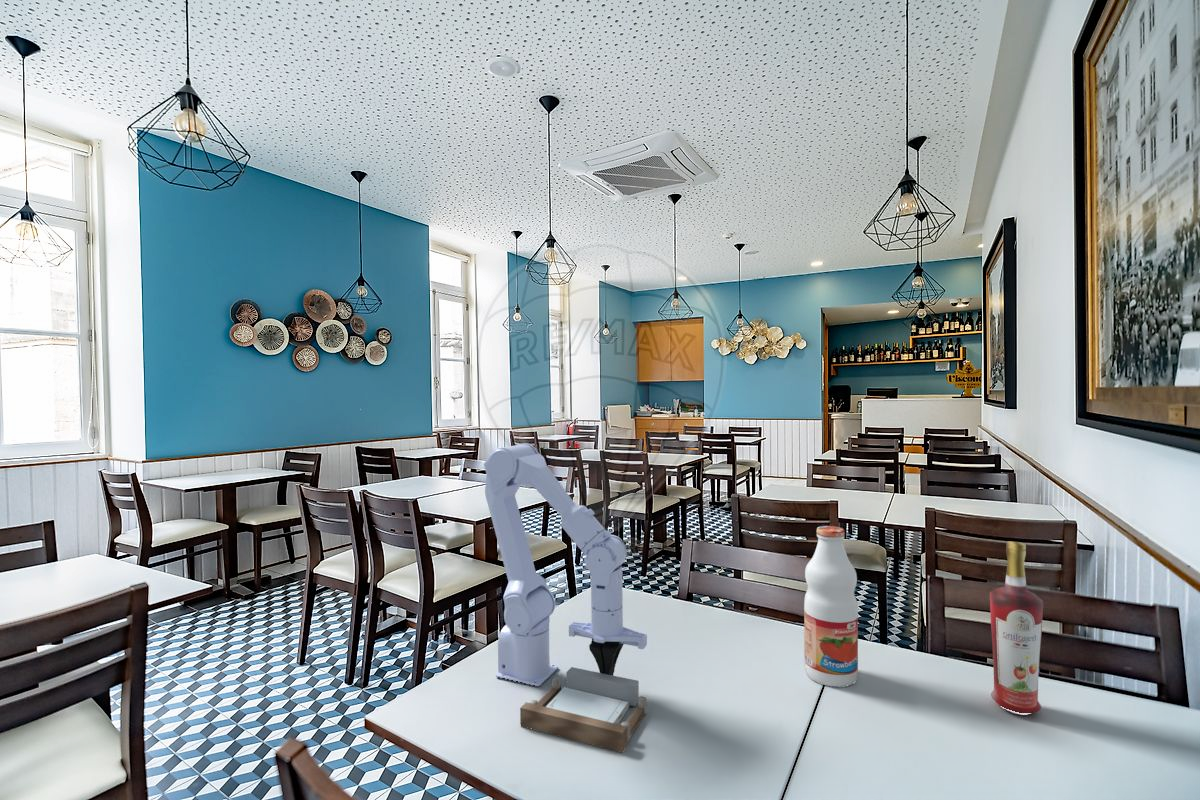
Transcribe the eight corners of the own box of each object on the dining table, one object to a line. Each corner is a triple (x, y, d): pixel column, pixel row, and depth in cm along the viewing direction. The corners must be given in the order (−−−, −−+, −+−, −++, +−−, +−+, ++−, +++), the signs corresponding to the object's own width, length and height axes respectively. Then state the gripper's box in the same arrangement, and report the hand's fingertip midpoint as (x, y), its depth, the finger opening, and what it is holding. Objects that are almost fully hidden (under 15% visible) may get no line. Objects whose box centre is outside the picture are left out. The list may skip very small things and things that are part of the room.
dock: (520, 726, 93) (520, 707, 93) (554, 690, 104) (554, 674, 104) (622, 752, 86) (622, 732, 86) (647, 711, 97) (647, 694, 96)
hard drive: (542, 709, 95) (611, 726, 90) (564, 685, 103) (629, 699, 98) (542, 719, 95) (611, 736, 91) (564, 695, 103) (629, 709, 98)
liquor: (1036, 702, 98) (1036, 540, 98) (1048, 724, 92) (1049, 551, 91) (985, 693, 101) (985, 536, 101) (993, 714, 95) (994, 546, 94)
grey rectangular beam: (566, 691, 103) (566, 672, 103) (571, 685, 105) (571, 667, 105) (634, 706, 98) (634, 686, 98) (638, 700, 99) (638, 680, 99)
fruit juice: (830, 660, 114) (830, 520, 114) (869, 682, 106) (869, 531, 105) (793, 669, 111) (793, 525, 110) (830, 693, 102) (830, 537, 101)
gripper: (560, 607, 102) (561, 682, 103) (637, 620, 97) (638, 699, 97) (577, 594, 109) (578, 665, 109) (650, 605, 103) (650, 679, 103)
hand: (607, 680), depth 103 cm, fingers closed, pressing on grey rectangular beam
